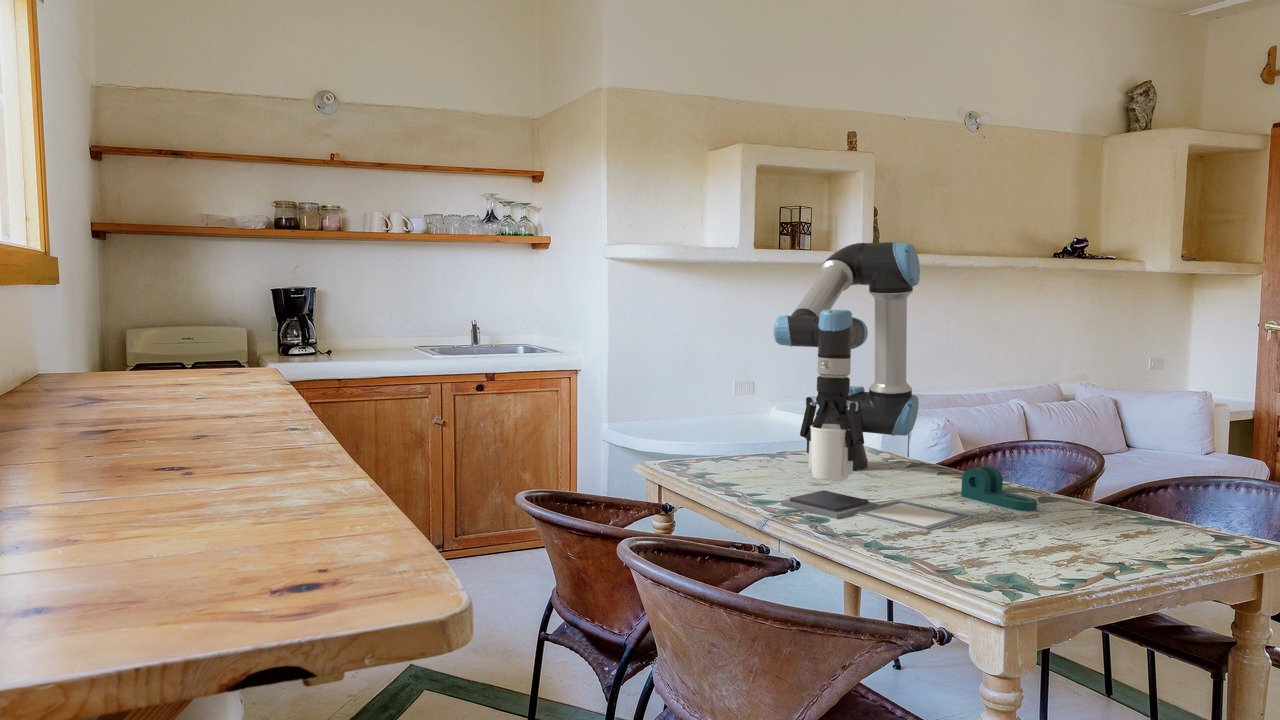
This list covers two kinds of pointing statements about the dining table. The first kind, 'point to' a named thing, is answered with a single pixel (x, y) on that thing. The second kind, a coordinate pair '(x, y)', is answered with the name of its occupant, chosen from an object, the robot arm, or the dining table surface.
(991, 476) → the bracket
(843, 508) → the ink pad
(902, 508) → the marked square
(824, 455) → the candle holder
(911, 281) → the robot arm
